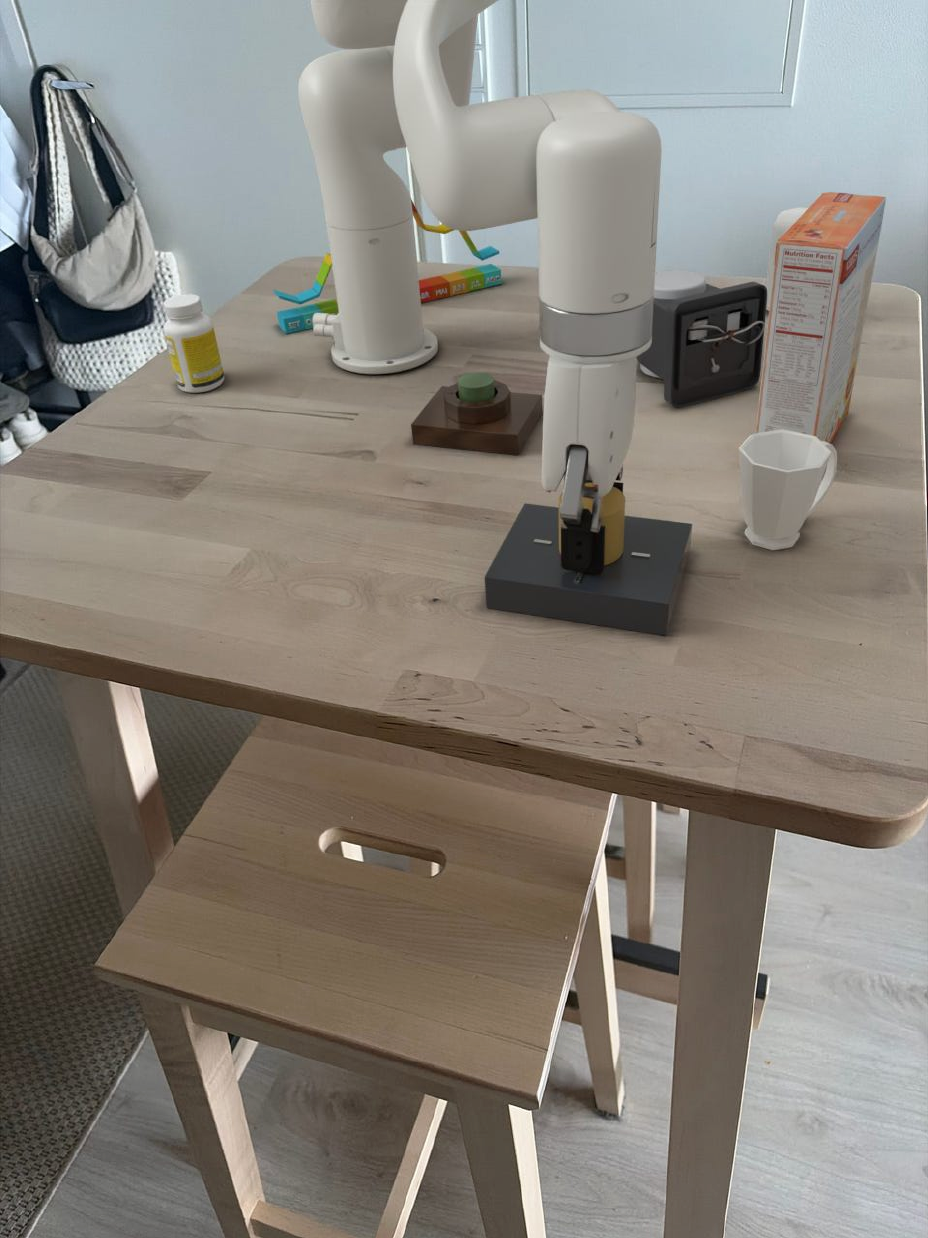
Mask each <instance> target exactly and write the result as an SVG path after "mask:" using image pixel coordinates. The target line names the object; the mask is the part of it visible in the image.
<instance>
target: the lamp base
mask: <svg viewBox="0 0 928 1238" xmlns="http://www.w3.org/2000/svg"><path fill="white" fill-rule="evenodd" d="M494 387H495V397H494V398H492V399H489V400H487V401H482V402H466V401H463V400H460V399H459V392H458V382H456V383H454V384H451V385H449V386H447V385H441V386H440V388H439V389H438V390H437V391H436V392H435V394H434V395H433V396H432V397H431V399H429V401H428V402H427V404H426V405H425V406H424V408H423V409H422V410H421V411H420V413H418V415H417V416H416V417H415V419H414V420H413V421H412V422H411V423H410V427H411V436H412V437H411V438H412V444H413V445H419V446H427V447H428V446H429V447H437V448H438V447H439V448H446V449H447V448H448V449H456V450H465V451H474V452H483V453H494V454H502V455H511V456H512V455H513V456H519V454H520V453H521V451H522V449H523V448H524V446H525V444H526V442H527V441H528V439H529V438H530V437H531V434H532V433H533V431H534V429H535V428H536V426H537V425H538V423H539V421H540V419H541V417H543V414H544V408H543V394H537V393H528V392H527V393H525V392H515V391H511V390H510V389H509V387H508V385H507V384H506V383H503V382H502V381H499V380H497V379H494Z"/></svg>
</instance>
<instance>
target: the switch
mask: <svg viewBox="0 0 928 1238" xmlns="http://www.w3.org/2000/svg"><path fill="white" fill-rule="evenodd" d="M494 380H495V377H494V376H493V375H492V374H490V373H488V372H480V371H477V372H469V373H466V374H463V375H461V376H460V377H459V378H458V379H457V383H458V392H459V399H460V400H463V401H466V402H482V401H487V400H489V399H492V398H494V397H495V387H494Z"/></svg>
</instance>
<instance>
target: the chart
mask: <svg viewBox="0 0 928 1238" xmlns="http://www.w3.org/2000/svg"><path fill="white" fill-rule="evenodd" d="M411 203H412V213H413V219H414V220H415V222H416V224H417V226H418V227H419V228H421V230H424V231H426V232H430V233H435V234H441V235H446V234H449V233H452V232H453V231H455V230H454V229H451V228H448V227H447V226H445V225H443V224H442V223H440V224H439V225H430V224H425V223H424V221H423V219H422V216H421V215H420V213H419V211H418V209H417V208H416V206H415V203H414V201H413V200H412V198H411ZM458 232H459V233H460V235H461V237H462V238H463V240H464V242H465V243H466V246H467V247H468V249H469V251H470V252H471V254H472V255H473V257H475V258H477V259H478V260H480V261H482V262H483V261H486V260H488V259H491V258H493V257H494V256H497V255H500V250H499V249H497V248H495V247H494V246H491V245H488V246H486V247H484V248H482V249H479V250H478V248H477V247H476V245H475V244H474V242H473V241H472V240H473V239H472V238H471V237H470V235H469V234H468V231H460V230H458ZM331 269H332V261H331V254H330V253H327V252H326V253H325V255H324V258H323V261H322V262H321V265H320V267H319V271H318V273H317V275H316V278H315V280H314V283H313V285H312V287H311V288H309V289H307V290H304V291H302V292H299V293H297V294H290V293H286V292H283V291H279V290H276V289H272V292H273V293H274V295H275V296H276V297H277V298H278V299H280V300H283V301H287V302H290V303H293V304H296V305H300V306H297V307H292V308H288V309H283V310H280V311H276V316H277V320H278V321H277V322H278V327H279V328H280V329H281V330H282V331H283V332H284V333H285V334H286V335H287V334H291V333H296V332H300V331H301V332H302V331H304V330H309V329H314V327H313V316H314V314H315V313H327V314H331V315H337V314H338V313H339V310H338V303H337V298H333V299H328V300H324V301H319V302H315V303H311V304H306V303H308V302H310V301H312V300H315V299H317V298H319V297H320V296H321V294H322V291H323V289H324V287H325V284H326V282H327V279H328V277H329V274H330V272H331ZM498 285H502V269H500V268H499V267H498V266H496V265H495V264H493V263H488V264H484V265H478V266H475V267H471V268H466V269H462V270H457V271H454V272H450V273H445V274H440V275H436V276H431V277H427V278H421V279H419V289H420V300H421V304H422V303H426V302H430V301H435V300H439V299H443V298H444V299H445V298H447V297H448V298H449V297H452V296H456V295H461V294H465V293H468V292H472V291H477V290H482V289H485V288H490V287H493V286H498ZM303 304H306V305H303Z"/></svg>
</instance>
